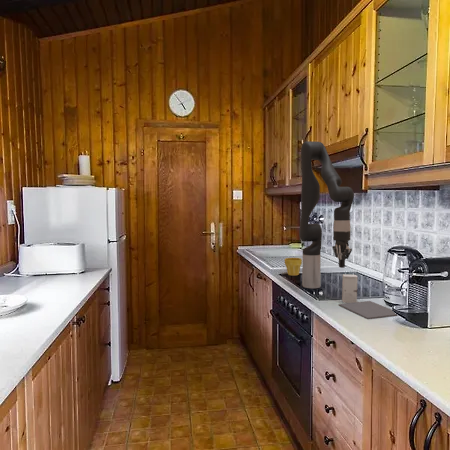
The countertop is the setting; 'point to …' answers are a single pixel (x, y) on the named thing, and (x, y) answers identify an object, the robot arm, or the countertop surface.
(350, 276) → the skincare box
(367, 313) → the mat
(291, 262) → the plant pot
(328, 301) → the countertop surface
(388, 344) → the countertop surface
